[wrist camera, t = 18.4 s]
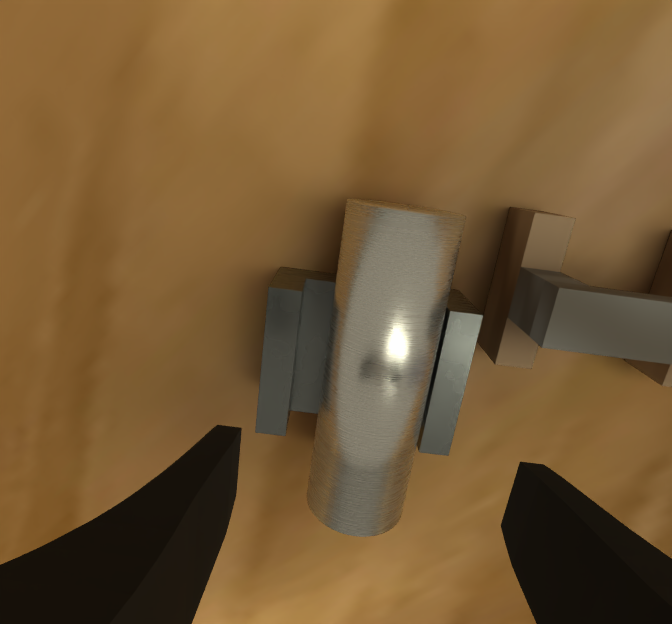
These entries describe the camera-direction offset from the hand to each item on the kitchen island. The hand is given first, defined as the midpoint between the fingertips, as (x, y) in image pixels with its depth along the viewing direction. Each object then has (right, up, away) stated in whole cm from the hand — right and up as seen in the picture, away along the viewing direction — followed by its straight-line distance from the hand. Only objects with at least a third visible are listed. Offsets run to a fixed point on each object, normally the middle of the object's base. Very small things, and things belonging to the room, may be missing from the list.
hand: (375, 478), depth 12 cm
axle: (0, +3, +7) cm, 8 cm away
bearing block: (+12, +5, +8) cm, 15 cm away
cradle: (0, +3, +9) cm, 9 cm away
